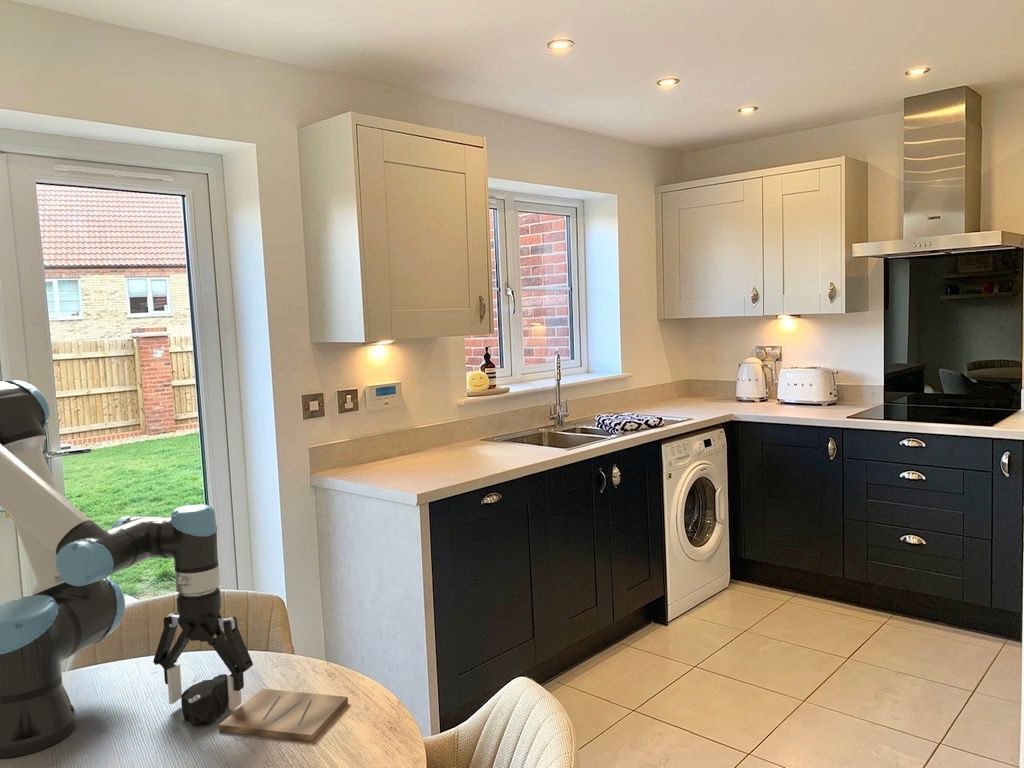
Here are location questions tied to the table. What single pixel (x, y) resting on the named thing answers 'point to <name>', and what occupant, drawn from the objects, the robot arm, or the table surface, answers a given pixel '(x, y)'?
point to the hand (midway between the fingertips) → (205, 703)
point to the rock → (205, 700)
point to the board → (284, 714)
